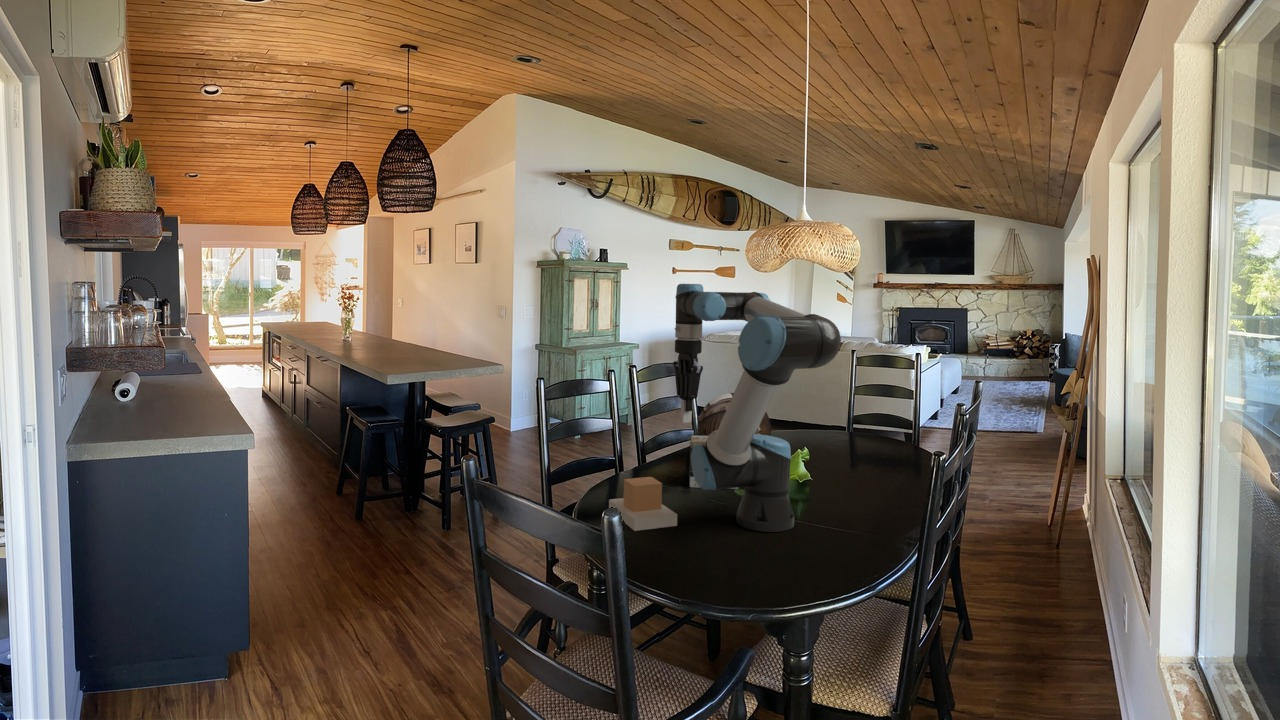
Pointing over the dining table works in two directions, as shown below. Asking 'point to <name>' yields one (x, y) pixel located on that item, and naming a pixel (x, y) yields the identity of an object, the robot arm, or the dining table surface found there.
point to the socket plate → (645, 516)
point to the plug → (642, 494)
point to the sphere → (716, 412)
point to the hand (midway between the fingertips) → (686, 421)
